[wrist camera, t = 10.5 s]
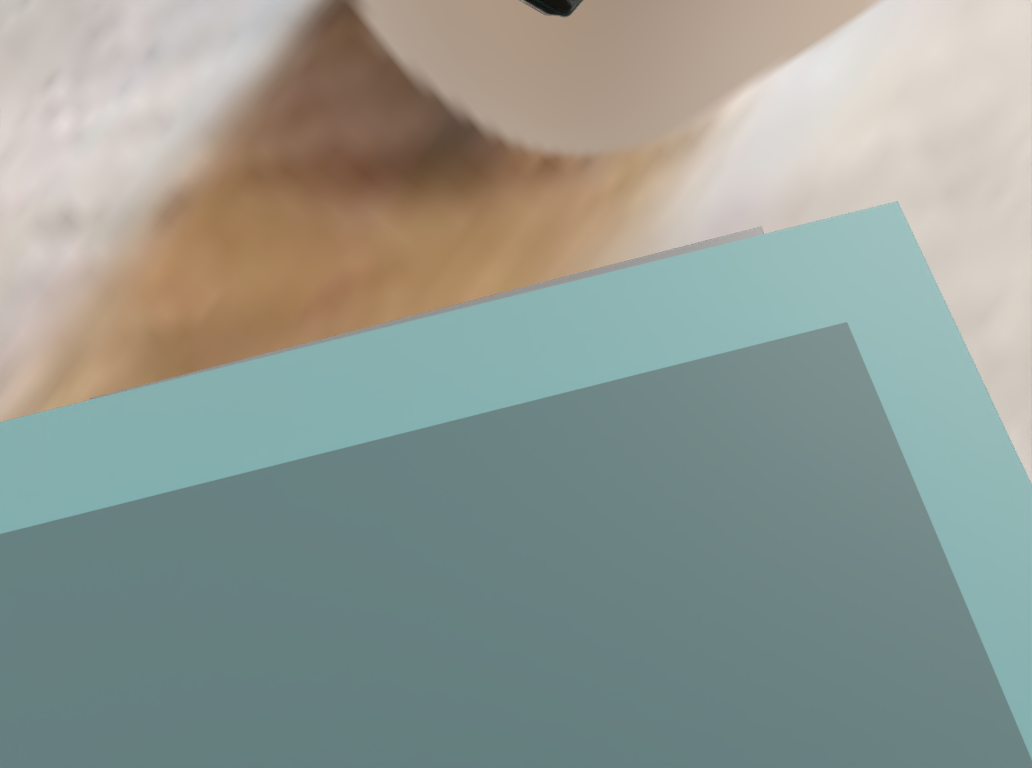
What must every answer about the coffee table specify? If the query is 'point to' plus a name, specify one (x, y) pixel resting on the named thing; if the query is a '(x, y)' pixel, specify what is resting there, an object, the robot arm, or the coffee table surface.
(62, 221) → the coffee table surface
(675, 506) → the teal square pillar
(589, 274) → the grey crate
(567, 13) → the build plate
